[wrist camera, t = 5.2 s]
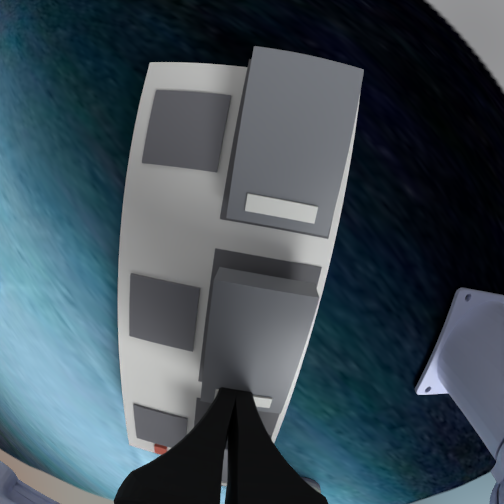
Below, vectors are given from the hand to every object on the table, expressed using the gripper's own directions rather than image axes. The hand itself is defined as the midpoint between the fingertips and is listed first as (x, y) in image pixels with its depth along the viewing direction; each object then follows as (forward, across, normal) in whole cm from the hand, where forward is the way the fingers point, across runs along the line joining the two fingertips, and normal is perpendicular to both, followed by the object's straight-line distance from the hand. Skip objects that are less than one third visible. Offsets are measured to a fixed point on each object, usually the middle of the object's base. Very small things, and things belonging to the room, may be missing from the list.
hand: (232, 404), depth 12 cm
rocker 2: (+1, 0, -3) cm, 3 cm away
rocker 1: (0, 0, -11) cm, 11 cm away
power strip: (+5, +2, -3) cm, 6 cm away
